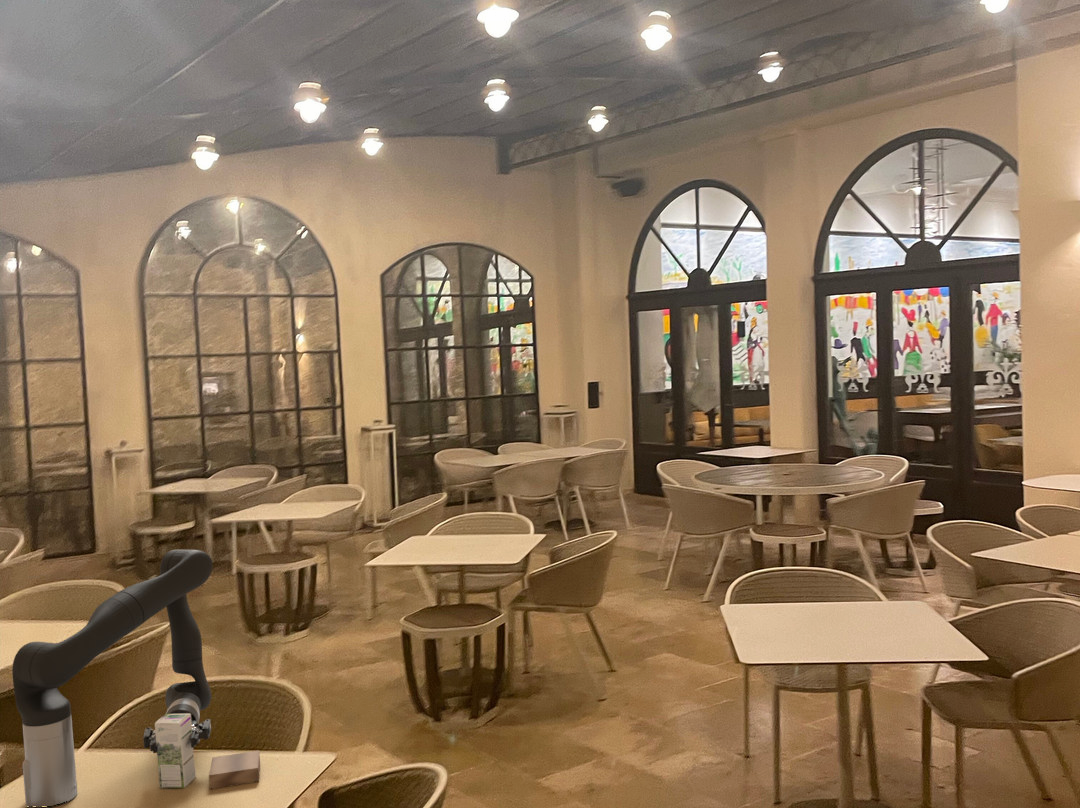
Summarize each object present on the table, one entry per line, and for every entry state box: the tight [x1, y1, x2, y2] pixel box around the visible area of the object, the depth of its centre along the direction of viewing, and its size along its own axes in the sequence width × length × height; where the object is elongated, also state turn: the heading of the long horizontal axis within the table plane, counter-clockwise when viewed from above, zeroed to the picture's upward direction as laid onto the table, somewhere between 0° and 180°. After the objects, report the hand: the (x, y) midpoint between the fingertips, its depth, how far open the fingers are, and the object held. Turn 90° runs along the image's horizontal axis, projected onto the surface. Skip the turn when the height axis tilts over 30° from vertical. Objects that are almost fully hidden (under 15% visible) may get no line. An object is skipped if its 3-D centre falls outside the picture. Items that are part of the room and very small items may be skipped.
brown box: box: [208, 749, 261, 790], centre depth 211 cm, size 10×10×3 cm
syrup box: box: [154, 713, 197, 789], centre depth 209 cm, size 6×6×14 cm
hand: (173, 745), depth 207 cm, fingers closed on syrup box, 7 cm apart
